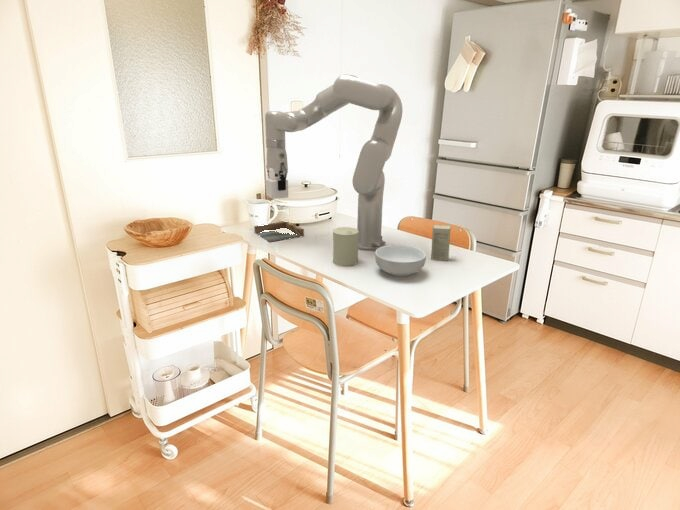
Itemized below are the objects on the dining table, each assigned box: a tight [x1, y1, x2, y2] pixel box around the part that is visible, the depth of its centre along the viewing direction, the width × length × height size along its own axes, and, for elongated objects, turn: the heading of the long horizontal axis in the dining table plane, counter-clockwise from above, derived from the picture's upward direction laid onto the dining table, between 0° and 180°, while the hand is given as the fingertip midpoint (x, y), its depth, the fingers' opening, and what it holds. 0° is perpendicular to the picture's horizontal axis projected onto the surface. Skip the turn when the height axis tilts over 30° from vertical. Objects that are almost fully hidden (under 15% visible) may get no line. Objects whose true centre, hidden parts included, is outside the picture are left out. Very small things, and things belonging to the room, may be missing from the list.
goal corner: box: [253, 220, 305, 243], centre depth 188 cm, size 16×16×3 cm
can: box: [332, 226, 359, 267], centre depth 157 cm, size 9×9×12 cm
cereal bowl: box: [374, 244, 427, 277], centre depth 148 cm, size 17×17×7 cm
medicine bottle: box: [265, 168, 289, 200], centre depth 179 cm, size 7×7×12 cm
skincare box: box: [430, 224, 451, 262], centre depth 160 cm, size 6×4×12 cm
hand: (277, 188), depth 179 cm, fingers closed on medicine bottle, 7 cm apart
